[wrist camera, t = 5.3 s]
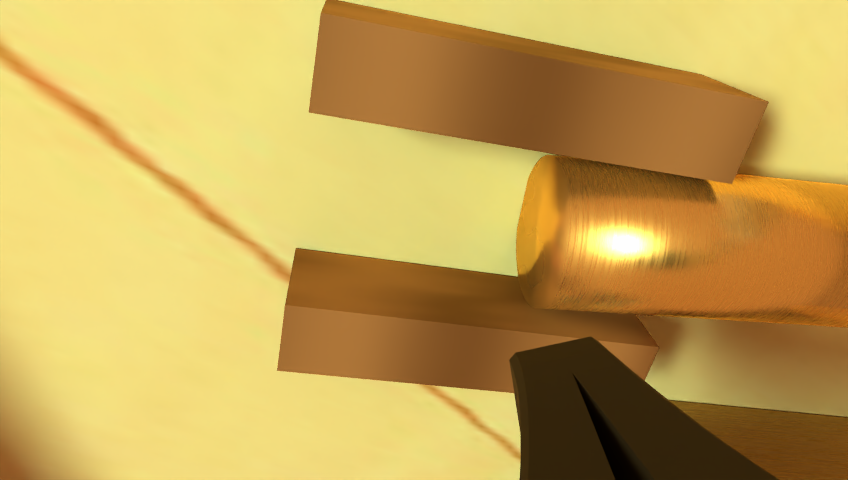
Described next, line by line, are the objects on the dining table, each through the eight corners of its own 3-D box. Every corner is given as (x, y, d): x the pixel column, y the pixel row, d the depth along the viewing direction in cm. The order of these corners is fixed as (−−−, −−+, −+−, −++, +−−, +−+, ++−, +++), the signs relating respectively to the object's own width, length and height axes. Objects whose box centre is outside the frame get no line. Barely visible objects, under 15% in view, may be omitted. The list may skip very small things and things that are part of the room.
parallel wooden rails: (701, 74, 16) (768, 101, 14) (596, 341, 20) (634, 404, 17) (326, -2, 15) (321, 12, 12) (288, 306, 18) (277, 370, 16)
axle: (868, 163, 18) (977, 244, 15) (799, 268, 20) (881, 359, 17) (541, 128, 16) (584, 210, 13) (507, 246, 19) (537, 341, 16)
